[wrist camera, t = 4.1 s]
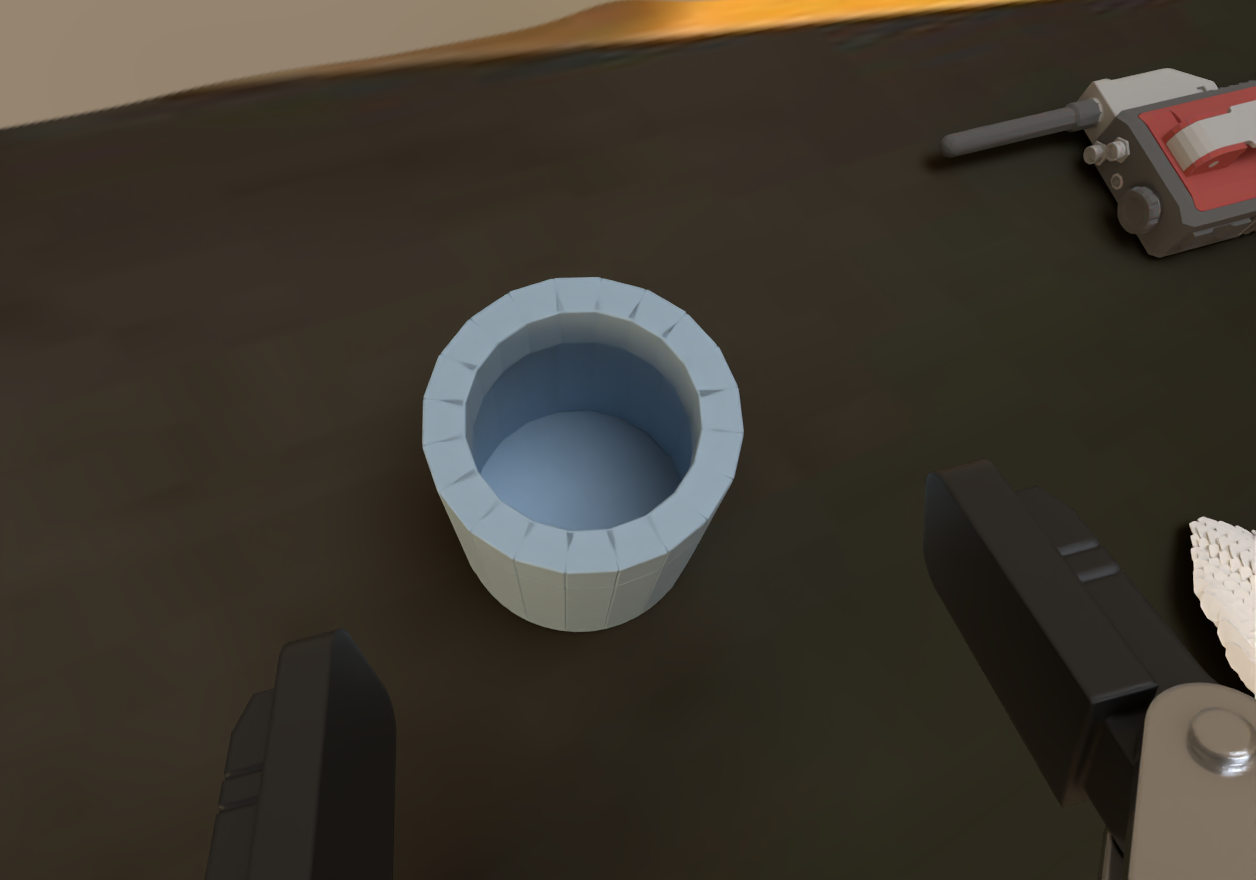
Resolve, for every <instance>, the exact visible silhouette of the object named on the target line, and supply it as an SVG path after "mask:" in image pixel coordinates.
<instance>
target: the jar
mask: <svg viewBox="0 0 1256 880" xmlns="http://www.w3.org/2000/svg"><path fill="white" fill-rule="evenodd" d="M743 433H744V430H743V421H742V413H741V405H740V396H739V389H738V386H737V384H736V382H735V380H734V377H733V375H732V373H731V371H730V369H729V367H728V365H727V363H726V361H725V359H724V357H723V354H722V352H721V350H720V348H719V347H717V345H716V344H715V342H714V341H713V340H712V339H711V338H710V337H709V336H708V335H707V334H706V333H705V332H704V331H703V330H702V329H701V328H700V326H699V325H698V324H697V323H696V322H695V321H694V320H693V319H692V318H691V317H690V316H689V315H688V314H686V312H685V311H683V310H682V309H680V308H678V307H677V306H675V305H673V304H671V303H670V302H668V301H666V300H665V299H663V298H661V297H659V296H658V295H656V294H654V293H653V292H651V291H649V290H646V291H645V289H643V288H639V287H635V286H631V285H627V284H623V283H620V282H616V281H612V280H608V279H604V278H602V279H600V277H589V278H554V280H553V279H550V280H546V281H543V282H540V283H537V284H533V285H530V286H527V287H524V288H520V289H517V290H514V291H511V292H509V294H506V295H504V296H503V297H501V298H500V299H498V300H497V301H495V302H494V303H492V304H491V305H489V306H488V307H486V308H485V309H483V310H482V311H480V312H479V313H477V314H476V315H474V316H473V317H471V319H470V320H468V321H467V322H466V323H465V324H464V325H463V327H462V328H461V329H460V330H459V332H458V333H457V334H456V335H455V337H454V338H453V339H452V340H451V342H450V343H449V344H448V345H447V346H446V348H445V349H444V350H443V351H442V353H441V355H439V357H438V359H437V362H436V365H435V367H434V370H433V373H432V375H431V378H430V381H429V383H428V386H427V389H426V392H425V394H424V400H423V427H422V444H423V450H424V453H425V456H426V459H427V462H428V465H429V468H430V471H431V474H432V477H433V480H434V483H435V486H436V489H437V491H438V494H439V496H440V498H441V500H442V503H443V505H444V507H445V509H446V511H447V514H448V516H449V518H450V520H451V523H452V525H453V527H454V529H455V532H456V534H457V536H458V538H459V541H460V543H461V545H462V547H463V550H464V552H465V554H466V556H467V559H468V561H469V563H470V565H471V567H472V569H473V570H474V572H475V573H476V574H477V576H478V577H479V579H480V581H481V582H482V584H483V585H484V586H485V587H486V589H487V590H488V591H489V592H490V594H491V595H492V596H493V597H494V598H496V599H497V600H498V601H499V602H500V603H501V604H502V605H503V606H505V607H506V608H507V609H509V610H510V611H511V612H513V613H514V614H516V615H518V616H520V617H521V618H523V619H525V620H527V621H529V622H532V623H534V624H537V625H540V626H542V627H546V628H550V629H555V630H559V631H570V632H588V631H596V630H602V629H607V628H611V627H614V626H617V625H620V624H623V623H625V622H627V621H629V620H631V619H634V618H636V617H638V616H639V615H641V614H642V613H644V612H645V611H647V610H648V609H650V608H651V607H652V606H653V605H655V604H656V603H657V602H658V601H659V600H660V599H662V598H663V596H664V595H665V594H666V593H667V592H668V591H669V590H670V589H671V588H672V587H673V585H674V584H675V582H676V580H677V579H678V577H679V576H680V574H681V573H682V571H683V569H684V567H685V566H686V564H687V563H688V561H689V559H690V558H691V556H692V554H693V552H694V551H695V549H696V547H697V545H698V543H699V541H700V540H701V538H702V536H703V534H704V532H705V531H706V529H707V527H708V525H709V523H710V522H711V520H712V518H713V516H714V514H715V513H716V511H717V509H718V507H719V505H720V504H721V502H722V500H723V498H724V496H725V494H726V493H727V491H728V489H729V487H730V485H731V484H732V481H733V479H734V476H735V472H736V467H737V463H738V458H739V454H740V449H741V445H742V440H743Z"/></svg>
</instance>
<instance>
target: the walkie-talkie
mask: <svg viewBox="0 0 1256 880" xmlns="http://www.w3.org/2000/svg"><path fill="white" fill-rule="evenodd" d="M1083 129H1084V131H1085V132H1086V134H1087V136H1088V137H1089V139H1090V141H1091V142H1092V144H1093V145H1092V146H1089V147H1087V148H1086V149H1085V150H1084V155H1083V157H1084V160H1085V162H1086V163H1087V164H1095V166H1096V168H1097V169H1098V171H1099V173H1100V174H1101V176H1102V178H1103V179H1104V181H1105V183H1106V184H1107V186H1108V188H1109V189H1110V191H1111V193H1112V194H1113V196H1114V198H1115V199H1116V201H1117V203H1118V219H1119V222H1120V224H1121V225H1122V227H1123V228H1124V229H1125V230H1126V231H1127V232H1129V233H1130V234H1136V235H1137V236H1138V238H1139V239H1140V241H1141V243H1142V244H1143V246H1144V248H1145V249H1146V251H1147V253H1148V254H1149V255H1152V256H1156V257H1159V258H1161V257H1164V256H1168V255H1172V254H1176V253H1179V252H1183V251H1187V250H1190V249H1194V248H1198V247H1201V246H1205V245H1209V244H1213V243H1216V242H1220V241H1224V240H1227V239H1231V238H1235V237H1238V236H1240V235H1242V234H1249V233H1251V232H1252V231H1255V232H1256V81H1252V80H1250V81H1248V82H1247V83H1238V84H1237V85H1229V86H1228V87H1226V88H1223V87H1217V86H1216V85H1215V83H1214V82H1213V81H1210V80H1207V79H1203V78H1200V77H1197V76H1193V75H1190V74H1187V73H1184V72H1180V71H1177V70H1174V69H1170V68H1165V69H1160V70H1156V71H1151V72H1147V73H1142V74H1138V75H1133V76H1129V77H1124V78H1120V79H1115V80H1109V79H1103V80H1098V81H1094V82H1092V83H1091V84H1090V85H1089V86H1088V88H1087V89H1086V90H1085V92H1084V93H1083V94H1082V96H1081V97H1080V98H1079V100H1078V101H1077V102H1074V103H1069V104H1067V105H1065V107H1064V108H1061V109H1057V110H1053V111H1048V112H1044V113H1040V114H1036V115H1031V116H1027V117H1023V118H1018V119H1014V120H1010V121H1005V122H1001V123H997V124H992V125H988V126H984V127H979V128H975V129H971V130H966V131H962V132H958V133H953V134H949V135H946V136H945V137H944V138H943V139H942V140H941V142H940V151H941V154H942V155H943V156H945V157H949V158H952V157H956V156H960V155H965V154H969V153H973V152H977V151H981V150H986V149H990V148H994V147H998V146H1002V145H1007V144H1011V143H1015V142H1019V141H1023V140H1028V139H1032V138H1036V137H1040V136H1044V135H1049V134H1053V133H1057V132H1061V131H1065V130H1066V131H1067V132H1075V131H1079V130H1083Z"/></svg>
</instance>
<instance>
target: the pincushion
mask: <svg viewBox="0 0 1256 880" xmlns="http://www.w3.org/2000/svg"><path fill="white" fill-rule="evenodd" d="M1197 521H1198V522H1197ZM1197 521H1193V522H1191V523H1189V526H1190V529H1191V532H1192V534H1193V535H1191V536H1190V537H1191V542H1192V546H1193V548H1191V556H1192V560H1193V564H1194V571H1193V582H1194V593H1195V594H1196V596H1197V597H1198V598H1199V600H1200V601H1201V602H1200V606H1201V608H1202V610H1203V612H1204V614H1205V615H1206V617H1207V618H1208V619H1209V620H1211V621H1212V622H1214V624H1215V626H1216V627H1217V628H1218V630H1217V634H1218V636H1219V639H1220V641H1221V643H1222V646H1224V647H1225V648H1226V653H1225V656H1226V658H1227V660H1228V662H1229V664H1230V666H1231V668H1232V669H1233V670H1234V671H1236V672H1237V673H1238V675H1239V677H1240V679H1241V681H1243V682H1244V684H1245V686H1246V687H1247V688H1248V689H1249V690H1250V691H1251V692H1253V693H1254V694H1255V699H1256V531H1255V530H1252V531H1251V532H1252V533H1253V534H1252V533H1250V532H1249V531H1247V530H1245V529H1243V528H1241V527H1239V526H1235V527H1234V526H1232V525H1230V524H1227V523H1225V522H1222V521H1219V522H1217V521H1215V520H1212V519H1209V518H1206V517H1201V518H1199V519H1198V520H1197Z"/></svg>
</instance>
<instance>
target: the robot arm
mask: <svg viewBox="0 0 1256 880" xmlns="http://www.w3.org/2000/svg"><path fill="white" fill-rule="evenodd" d="M923 550H924V557H925V562H926V566H927V569H928V572H929V575H930V578H931V580H932V582H933V585H934V587H935V589H936V591H937V592H938V594H939V596H940V598H941V599H942V601H943V603H944V605H945V606H946V608H947V610H948V611H949V613H950V615H951V617H952V618H953V620H954V622H955V624H956V625H957V627H958V629H959V630H960V632H961V634H962V636H963V637H964V639H965V641H966V643H967V644H968V646H969V648H970V650H971V651H972V653H973V655H974V656H975V658H976V660H977V662H978V663H979V665H980V667H981V669H982V670H983V672H984V674H985V675H986V677H987V679H988V681H989V682H990V684H991V686H992V688H993V689H994V691H995V693H996V694H997V696H998V698H999V700H1000V701H1001V703H1002V705H1003V707H1004V708H1005V710H1006V712H1007V713H1008V715H1009V717H1010V719H1011V720H1012V722H1013V724H1014V726H1015V727H1016V729H1017V731H1018V732H1019V734H1020V736H1021V738H1022V739H1023V741H1024V743H1025V745H1026V746H1027V748H1028V750H1029V751H1030V753H1031V755H1032V757H1033V758H1034V760H1035V762H1036V764H1037V765H1038V767H1039V769H1040V771H1041V772H1042V774H1043V776H1044V777H1045V779H1046V781H1047V783H1048V784H1049V786H1050V788H1051V790H1052V791H1053V793H1054V795H1055V796H1056V798H1057V800H1058V802H1059V803H1060V805H1061V807H1065V806H1069V805H1073V804H1076V803H1080V802H1084V801H1087V800H1091V801H1092V803H1093V805H1094V806H1095V808H1096V810H1097V811H1098V813H1099V815H1100V816H1101V818H1102V820H1103V821H1104V823H1105V824H1106V825H1105V829H1104V833H1103V840H1102V848H1101V856H1100V864H1099V872H1098V879H1097V880H1256V699H1254V698H1252V697H1251V696H1249V695H1247V694H1244V693H1242V692H1240V691H1238V690H1235V689H1232V688H1229V687H1226V686H1222V685H1220V684H1218V683H1217V682H1216V681H1215V680H1214V679H1213V678H1211V677H1210V676H1209V675H1208V674H1207V673H1206V672H1205V671H1204V670H1203V668H1202V667H1201V666H1200V665H1199V664H1198V663H1197V661H1196V660H1195V659H1194V658H1193V656H1192V655H1191V654H1190V653H1189V651H1188V650H1187V649H1186V648H1185V647H1184V645H1183V644H1182V643H1181V642H1180V640H1179V639H1178V638H1177V637H1176V635H1175V634H1174V633H1173V632H1172V630H1171V629H1170V628H1169V627H1168V625H1167V624H1166V623H1165V622H1164V621H1163V619H1162V618H1161V617H1160V616H1159V614H1158V613H1157V612H1156V611H1155V609H1154V608H1153V607H1152V606H1151V604H1150V603H1149V602H1148V601H1147V599H1146V598H1145V597H1144V596H1143V594H1142V593H1141V592H1140V591H1139V590H1138V588H1137V587H1136V586H1135V585H1134V583H1133V582H1132V581H1131V580H1130V578H1129V577H1128V576H1127V575H1126V573H1125V572H1124V573H1122V572H1121V571H1120V568H1119V565H1118V563H1117V562H1116V561H1115V560H1114V559H1113V557H1112V556H1111V555H1110V554H1109V552H1108V551H1107V550H1106V549H1105V547H1104V546H1103V547H1101V546H1100V544H1099V540H1098V539H1097V537H1096V536H1095V535H1094V534H1093V532H1092V531H1091V530H1090V529H1089V528H1088V526H1087V525H1086V524H1085V523H1084V521H1083V520H1082V519H1081V518H1080V516H1079V515H1078V514H1077V513H1076V511H1075V510H1074V509H1073V508H1071V507H1069V506H1068V505H1066V504H1065V503H1063V502H1061V501H1060V500H1058V499H1057V498H1055V497H1053V496H1052V495H1050V494H1049V493H1047V492H1045V491H1044V490H1042V489H1041V488H1039V487H1037V486H1034V487H1031V488H1027V489H1023V490H1019V491H1016V492H1014V490H1013V489H1012V488H1011V486H1010V485H1009V484H1008V482H1007V481H1006V480H1005V478H1004V477H1003V476H1002V474H1001V473H1000V472H999V470H998V469H997V468H996V466H995V465H994V464H993V463H992V462H991V461H989V460H987V459H979V460H975V461H972V462H968V463H964V464H960V465H957V466H953V467H949V468H945V469H942V470H938V471H934V472H931V473H929V474H928V476H927V479H926V493H925V515H924V537H923ZM395 764H396V723H395V716H394V711H393V707H392V703H391V700H390V697H389V695H388V692H387V690H386V688H385V687H384V685H383V684H382V682H381V681H380V679H379V678H378V676H377V675H376V673H375V672H374V670H373V669H372V667H371V666H370V664H369V663H368V661H367V660H366V658H365V657H364V655H363V654H362V652H361V651H360V649H359V648H358V646H357V645H356V643H355V642H354V641H353V639H352V638H351V636H350V635H349V633H348V632H347V631H346V630H344V629H337V630H333V631H329V632H326V633H322V634H318V635H315V636H311V637H307V638H303V639H300V640H296V641H292V642H289V643H286V644H285V645H284V646H283V648H282V649H281V652H280V656H279V661H278V668H277V674H276V681H275V688H274V689H270V690H266V691H263V692H259V693H255V694H253V696H252V697H251V699H250V701H249V703H248V705H247V706H246V708H245V710H244V712H243V714H242V715H241V717H240V719H239V721H238V722H237V724H236V726H235V728H234V730H233V731H232V733H231V739H230V744H229V750H228V755H227V760H226V766H225V771H224V774H225V777H226V779H225V781H223V782H222V787H221V793H220V798H219V804H218V807H219V809H220V812H219V814H217V815H216V820H215V825H214V831H213V836H212V842H211V847H210V853H209V858H208V863H207V869H206V874H205V880H393V845H394V804H395Z"/></svg>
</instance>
